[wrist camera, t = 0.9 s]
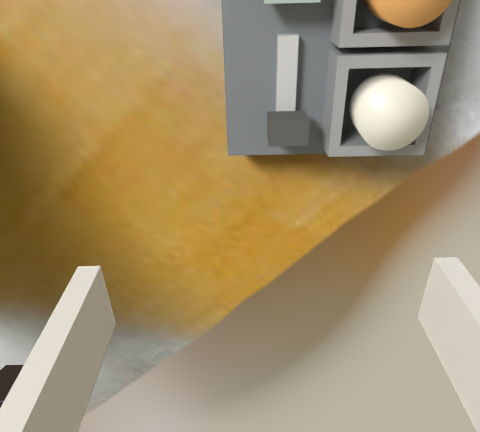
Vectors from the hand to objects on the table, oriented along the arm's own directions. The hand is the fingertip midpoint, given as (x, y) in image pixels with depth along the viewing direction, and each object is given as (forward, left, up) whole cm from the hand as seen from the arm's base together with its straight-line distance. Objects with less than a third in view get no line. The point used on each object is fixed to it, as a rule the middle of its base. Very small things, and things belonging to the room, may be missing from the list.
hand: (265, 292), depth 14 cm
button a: (+9, +1, -18) cm, 20 cm away
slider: (+3, 0, -19) cm, 19 cm away
